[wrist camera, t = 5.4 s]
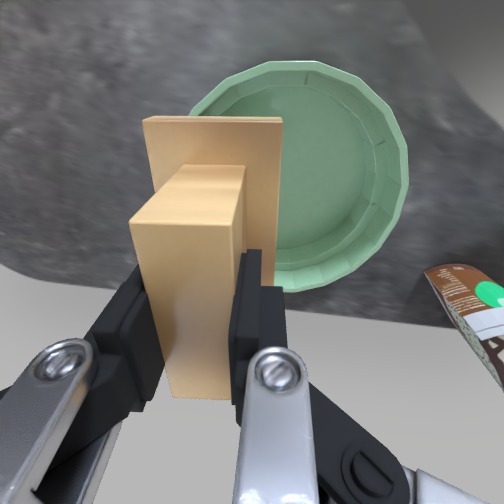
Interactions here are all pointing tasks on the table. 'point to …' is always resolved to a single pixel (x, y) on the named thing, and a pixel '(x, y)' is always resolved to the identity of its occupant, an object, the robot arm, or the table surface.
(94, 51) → the table surface
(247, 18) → the table surface
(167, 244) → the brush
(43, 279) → the table surface
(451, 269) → the food container
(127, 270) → the table surface
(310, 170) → the bowl
